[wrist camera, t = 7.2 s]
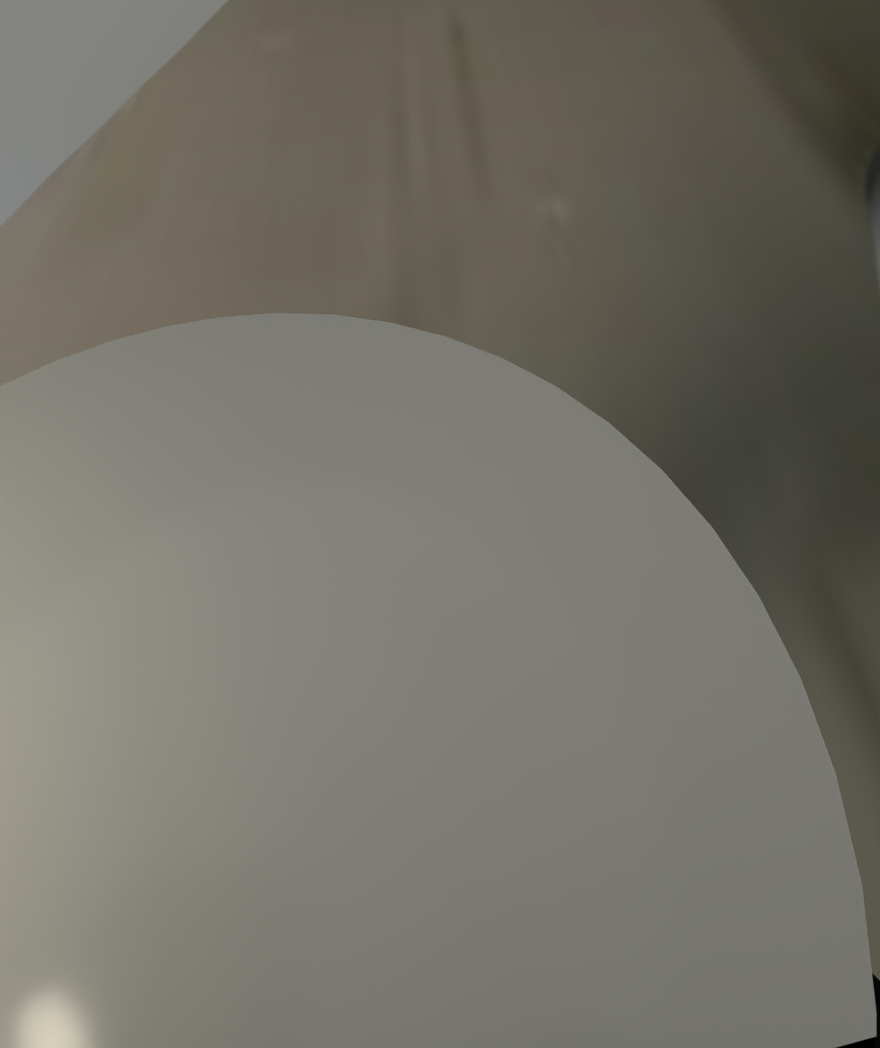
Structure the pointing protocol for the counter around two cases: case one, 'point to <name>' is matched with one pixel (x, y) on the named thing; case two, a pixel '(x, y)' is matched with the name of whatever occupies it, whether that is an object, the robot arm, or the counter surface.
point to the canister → (391, 718)
